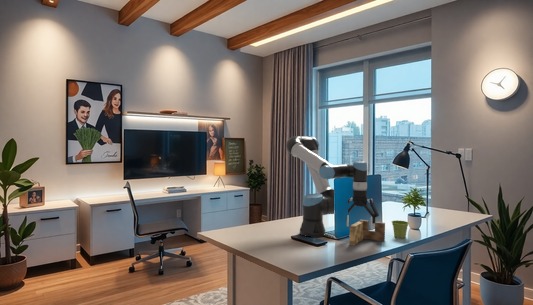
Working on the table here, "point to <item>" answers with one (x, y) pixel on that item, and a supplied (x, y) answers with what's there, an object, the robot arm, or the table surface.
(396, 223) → the plant pot
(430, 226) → the table surface
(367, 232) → the wooden u-shaped block
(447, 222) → the table surface
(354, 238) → the oak board
